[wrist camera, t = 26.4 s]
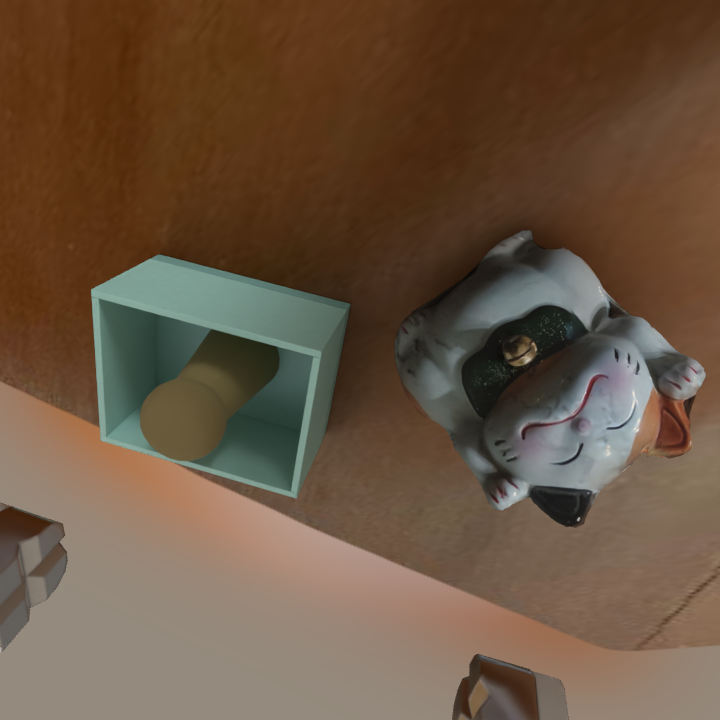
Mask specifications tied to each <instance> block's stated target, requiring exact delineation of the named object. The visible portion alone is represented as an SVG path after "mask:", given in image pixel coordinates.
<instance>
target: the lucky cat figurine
mask: <svg viewBox="0 0 720 720" xmlns="http://www.w3.org/2000/svg"><path fill="white" fill-rule="evenodd" d="M394 350H395V359H396V366H397V370H398V373H399V376H400V379H401V383H402V386H403V389H404V391H405V393H406V395H407V397H408V399H409V400H410V401H411V403H412V404H413V405H414V407H415V408H416V410H417V411H418V412H419V413H420V414H422V415H423V416H425V417H427V418H429V419H431V420H433V421H435V422H436V423H438V424H440V425H441V426H442V427H444V428H445V429H446V430H447V432H448V433H449V435H450V439H451V440H452V441H453V445H454V448H455V450H456V451H458V452H459V454H460V456H461V457H462V459H463V460H464V461H465V463H466V464H467V465H468V467H469V468H470V469H471V471H472V472H473V474H474V475H475V476H476V478H477V479H478V481H479V483H480V485H481V487H482V489H483V491H484V493H485V495H486V498H487V500H488V502H489V504H490V505H491V506H492V507H493V508H494V509H496V510H503V509H505V508H509V507H510V506H511V505H512V504H514V503H516V502H518V501H520V500H522V499H524V498H527V497H530V498H531V499H532V501H533V502H534V503H535V504H536V505H538V507H539V508H540V509H541V510H542V511H543V512H545V513H546V514H547V515H549V516H550V517H551V518H552V519H553V520H555V521H556V522H558V523H560V524H562V525H564V526H565V527H569V526H570V527H574V528H576V527H578V526H581V525H582V524H584V522H585V518H586V516H587V513H588V511H589V509H590V508H591V506H592V504H593V503H594V501H595V499H596V497H597V496H598V494H599V492H600V490H601V489H602V488H603V487H604V486H606V485H608V484H610V483H611V482H612V481H614V480H615V479H616V478H617V477H618V476H620V475H621V474H622V472H623V471H624V470H625V469H626V468H628V467H629V466H631V465H632V464H633V462H634V461H635V460H636V459H637V458H638V457H639V456H640V454H641V453H644V452H648V455H647V457H648V456H652V455H655V456H661V457H663V456H665V457H667V458H673V457H677V456H681V455H683V454H685V453H686V452H688V451H689V450H690V449H691V448H692V445H693V439H692V438H691V436H690V417H689V414H690V411H691V408H692V404H693V402H694V399H695V396H696V394H697V392H698V389H699V388H700V386H701V384H702V382H703V380H704V379H705V376H706V373H705V372H704V368H703V367H702V366H701V365H700V363H699V362H697V361H696V360H694V359H692V358H690V357H688V356H686V355H683V354H681V353H680V352H678V351H676V350H675V349H674V348H673V347H672V346H671V345H670V344H669V343H668V342H667V340H666V339H664V338H663V337H662V335H661V334H660V333H659V332H657V331H656V330H655V328H652V327H650V324H649V323H648V322H647V321H646V320H644V319H643V318H641V317H638V316H635V317H634V316H632V315H631V314H630V313H628V312H627V311H625V310H624V309H623V308H622V307H621V306H620V305H619V304H618V303H616V302H615V301H614V300H613V299H612V298H611V297H610V296H609V295H608V294H607V292H606V291H605V290H604V289H603V287H602V285H601V283H600V281H599V280H598V278H597V276H596V274H595V273H594V272H593V270H592V269H591V268H590V266H589V265H588V264H587V263H586V262H585V261H584V260H583V259H582V258H580V257H578V256H576V255H575V254H574V253H572V252H571V251H569V250H568V249H567V248H566V247H561V248H560V249H545V248H543V247H540V246H538V245H537V244H536V243H535V242H534V240H533V236H532V231H530V230H527V231H525V230H523V231H521V232H520V233H518V234H515V235H513V236H511V237H509V238H507V239H505V240H503V241H501V242H499V243H498V244H497V245H496V246H495V247H494V248H493V249H491V250H490V251H489V252H488V253H487V254H486V256H485V257H484V258H483V259H482V261H481V262H480V263H479V264H478V265H477V267H476V268H474V269H473V270H472V271H471V272H470V273H469V274H468V275H467V276H466V277H464V278H463V279H462V280H461V281H460V282H458V283H457V284H455V285H453V286H452V287H450V288H449V289H447V290H446V291H444V292H443V293H441V294H440V295H438V296H437V297H435V298H434V299H432V300H431V301H429V302H428V303H426V304H424V305H423V306H421V307H419V308H418V309H416V310H414V311H413V312H412V314H410V315H409V316H408V317H407V318H406V319H405V320H404V321H403V322H402V323H401V325H400V327H399V330H398V331H397V334H396V339H395V344H394Z"/></svg>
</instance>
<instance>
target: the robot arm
mask: <svg viewBox="0 0 720 720" xmlns="http://www.w3.org/2000/svg"><path fill="white" fill-rule="evenodd" d="M64 536H65V533H64V527H63V524H62V523H59V522H56V521H53V520H50V519H47V518H44V517H41V516H38V515H35V514H32V513H29V512H26V511H23V510H20V509H17V508H15V507H12V506H9V505H6V504H3V503H0V653H1V652H3V650H4V649H5V648H6V647H7V646H8V645H9V643H10V642H11V641H12V640H13V639H14V638H15V636H16V635H17V634H18V633H19V632H20V631H21V629H22V628H23V627H24V626H25V625H26V624H27V622H28V621H29V616H30V608H31V607H33V606H35V605H37V604H39V603H41V602H43V601H46V600H47V599H48V598H49V596H50V595H51V594H52V593H53V592H54V590H55V589H56V588H57V586H58V584H59V582H60V581H61V579H62V577H63V575H64V573H65V570H66V565H67V561H68V560H67V552H66V550H65V549H64V548H63V546H62V545H61V544H60V543H59V542H60V540H61V539H62V538H63V537H64ZM452 720H569V717H568V710H567V702H566V695H565V688H564V686H563V684H562V682H561V680H559V679H557V678H554V677H550V676H547V675H543V674H540V673H537V672H533V671H531V670H530V669H527V668H523V667H520V666H517V665H514V664H510V663H507V662H503V661H500V660H496V659H493V658H490V657H486V656H483V655H480V654H476V655H475V656H474V657H473V659H472V660H471V662H470V664H469V676H468V677H465V678H463V679H462V681H461V683H460V685H459V688H458V690H457V694H456V698H455V702H454V706H453V714H452Z"/></svg>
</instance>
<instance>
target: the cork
mask: <svg viewBox="0 0 720 720" xmlns="http://www.w3.org/2000/svg"><path fill="white" fill-rule="evenodd" d="M279 361H280V357H279V353H278V349H277V346H273V345H269V344H266V343H262V342H258V341H255V340H251V339H247V338H244V337H240V336H236V335H232V334H229V333H225V332H221V331H218V330H214V329H211V330H210V331H209V333H208V334H207V336H206V337H205V338H204V340H203V341H202V343H201V344H200V345H199V347H198V348H197V350H196V351H195V353H194V354H193V355H192V357H191V358H190V360H189V361H188V362H187V364H186V365H185V367H184V368H183V370H182V371H181V372H180V374H179V375H178V377H177V378H176V379H173V380H171V381H168V382H166V383H163V384H161V385H159V386H158V387H156V388H155V389H154V390H153V391H152V392H151V393H150V394H149V395H148V396H147V397H146V399H145V401H144V403H143V405H142V408H141V411H140V428H141V430H142V433H143V436H144V437H145V439H146V440H147V442H148V443H149V444H150V446H152V447H153V448H154V449H155V450H156V451H157V452H158V453H160V454H162V455H164V456H166V457H167V458H170V459H174V460H177V461H192V460H196V459H199V458H202V457H204V456H206V455H207V454H209V453H210V452H211V451H212V450H214V449H215V448H216V447H217V446H218V444H219V443H220V441H221V439H222V437H223V435H224V433H225V430H226V427H227V420H228V419H229V418H230V417H231V416H232V415H234V414H235V413H236V412H237V411H238V410H239V409H240V408H241V407H242V406H243V405H245V404H246V403H247V402H248V401H249V400H250V399H251V398H252V397H253V396H255V395H256V394H257V393H258V392H259V391H260V390H261V389H262V388H263V387H265V386H266V385H267V384H268V383H269V382H270V381H271V380H272V379H273V378H274V377H275V375H276V373H277V371H278V369H279Z"/></svg>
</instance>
